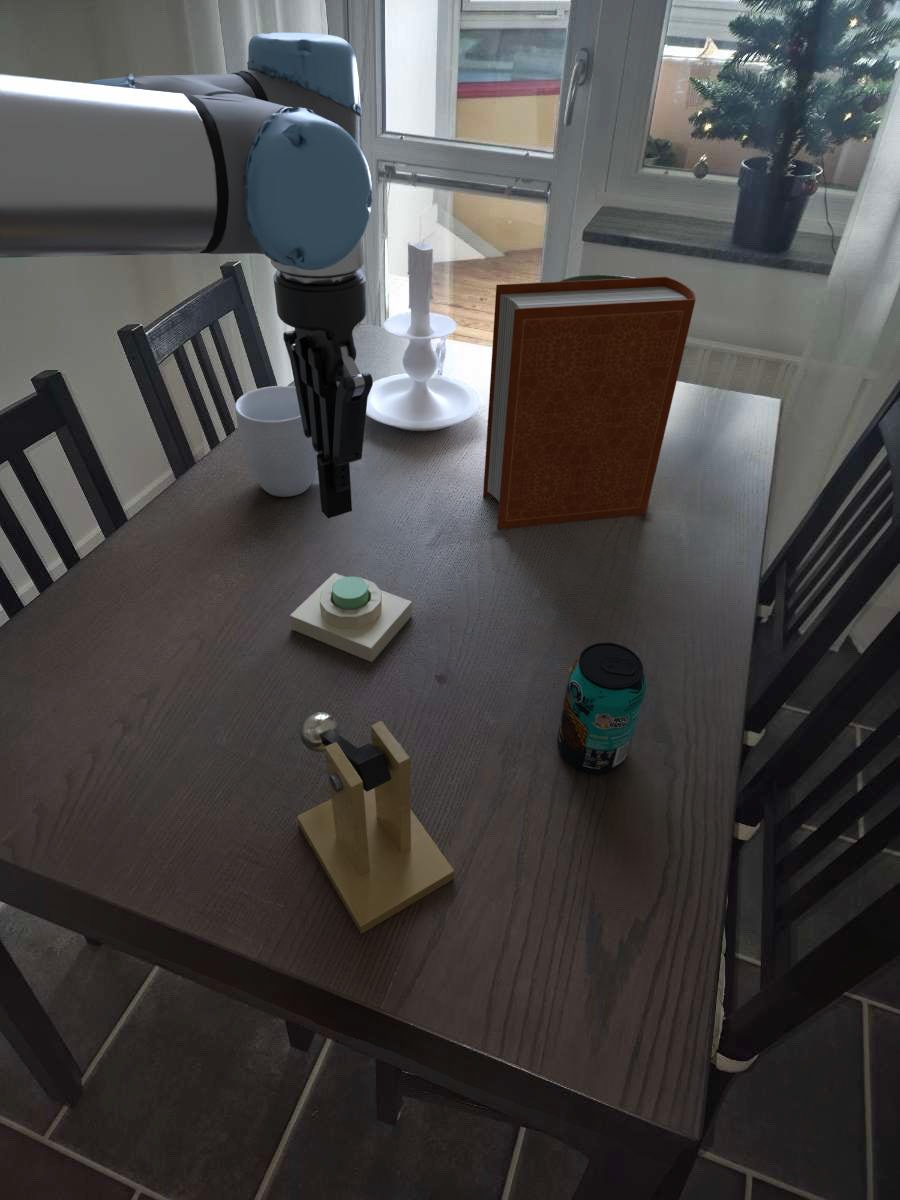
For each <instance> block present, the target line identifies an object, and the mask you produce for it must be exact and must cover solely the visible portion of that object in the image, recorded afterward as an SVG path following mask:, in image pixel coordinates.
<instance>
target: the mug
mask: <svg viewBox="0 0 900 1200" xmlns="http://www.w3.org/2000/svg"><path fill="white" fill-rule="evenodd" d="M234 411H235V415H236V423H237V430H238V434H239V441H240V444H241V445H240V446H241V449H242V454H243V456H244V459H245V462H246V464H247V466H248V469H249V471H250V473H251V475H252V477H253V479H254V480H255V481H256V483H257V484H258V485H259V486H260V487H261V488H262V489H263V490H264V491H265V492H266V493H268V494H269V495H272V496H273V497H278V498H279V497H280V498H286V497H287V498H288V497H294V496H295V497H296V496H299V495H301V494H303V493H305V492H306V491H307V490H308V489H309V488H310V487H311V485H312V484H313V482H314V479H315V477H316V475H317V472H318V465H317V455H318V452H316V451H315V450H314V448H313V446H312V437H310V438H307V437H306V436H305V434H304V430H303V425H302V420H301V414H300V409H299V404H298V399H297V393H296V388H295V386H289V385H271V386H265V387H259V388H256V389H252V390H250V391H248V392H245V393H244V394H242V395H241V396H240V397H239V398H238V399H237V400H236V402H235V404H234Z"/></svg>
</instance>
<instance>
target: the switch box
mask: <svg viewBox="0 0 900 1200" xmlns="http://www.w3.org/2000/svg"><path fill="white" fill-rule="evenodd" d="M344 577H345V575H341V574H339V573H336V572H334V573H332V574H331V575H330V576H329V577H328V578H327V579H325V581H324V582H323V583H321V585H320V586H319V587H318V588H316V590H314V591H313V592H312V593H311V594H310V595H309V596H308V597H307V598H305V600H304V601H303V602H302V603H300V605H298V607H297V608H296V609H294V611H292V612H291V613H290V614H289V622H290V628H291V630H292V631H295V632H297V633H300V634H302V635H305V636H307V637H309V638H312V639H313V640H314V639H315V640H317V641H319V642H321V643H324V644H326V645H328V646H331V647H333V648H336V649H339V650H341V651H344V652H346V653H349V654H350V655H353V656H355V657H358V658H359V659H363V660H365V661H368V662H370V663H373V662H374V661H375V660H376V658H377V657H378V656H379V655H380V654H381V652H383V650H384V649H385V648H386V647H387V646H388V644H389V643H390V642H391V641H392V640H393V638H394V637H395V636H397V634H398V632H400V630H401V629H402V628H403V627H404V626H405V625H406V623H407V622H408V621H409V620H410V619H411V618H412V616H413V601H411V600H408V599H406V598H403V597H400V596H399V595H395V594H392V593H389V592H387V591H384V590H382V589H380V588H379V587H378V586H377V585H376V583H375V582H373V581H371V580H368V579H366V578H363V577H360V578H361V579H363V580H364V581H365V582H366V583H367V585H368V602H367V603H366V605H365V606H363V607H361V608H359V609H356V610H343V609H341V608H338V607H337V606H336V605H335V604H334V601H333V592H332V587H333V584H334V583H335V582H336V581H337V580H339V579H341V578H344Z"/></svg>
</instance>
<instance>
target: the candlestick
mask: <svg viewBox="0 0 900 1200" xmlns="http://www.w3.org/2000/svg"><path fill="white" fill-rule="evenodd" d="M407 276H408V309H409V310H410V311H407V312H401V313H397V314H394V315H392V316H390V317H388V318H387V319H385V321H384V322H383V328H384V330H385V331H386V332H388V333H389V334H392V335H393V336H396V337H400V338H404V339H409V343H408V346H407V347H406V349H405V351H404V353H403V355H402V366H403V369H404V371H405V373H400V374H393V375H389V376H385V377H382V378H379V379H376V380H375V381H373V385H372V388H371V390H370V393H369V395H368V399H367V409H366V416H368V417H369V418H371V419H372V420H374V421H376V422H379V423H381V424H384V425H387V426H389V427H393V428H396V429H401V430H405V431H413V432H428V431H429V432H430V431H437V430H441V429H446V428H449V427H452V426H455V425H458V424H461V423H464V422H466V421H468V420H470V419H472V418H473V417H474V416H475V415H477V413H479V411H480V410H481V408H482V406H483V398H482V396H481V394H480V393H479V391H478V390H477V389H476V388H475V387H474V386H472V385H471V384H469V383H467V382H465V381H463V380H461V379H458V378H455V377H452V376H449V375H444V374H443V372H444V364H445V360H446V354H447V353H446V350H447V347H446V341H447V338H448V336H449V335H451V334H453V333H454V332H455V331H456V330H457V328H458V324H457V323H456V321H455V320H454V319H453V318H451V317H449V316H446V315H444V314H441V313H437V312H431V300H433V299H434V294H433V293H434V291H433V290H434V246H433V245H432V244H430V243H427V242H425V238H423V239H422V242H410V241H409V242H407ZM434 339H440V340H439V341H438V342H437V344H436V348H434V347H433V345H432V340H434ZM436 370H437V373H435V372H436Z"/></svg>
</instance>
